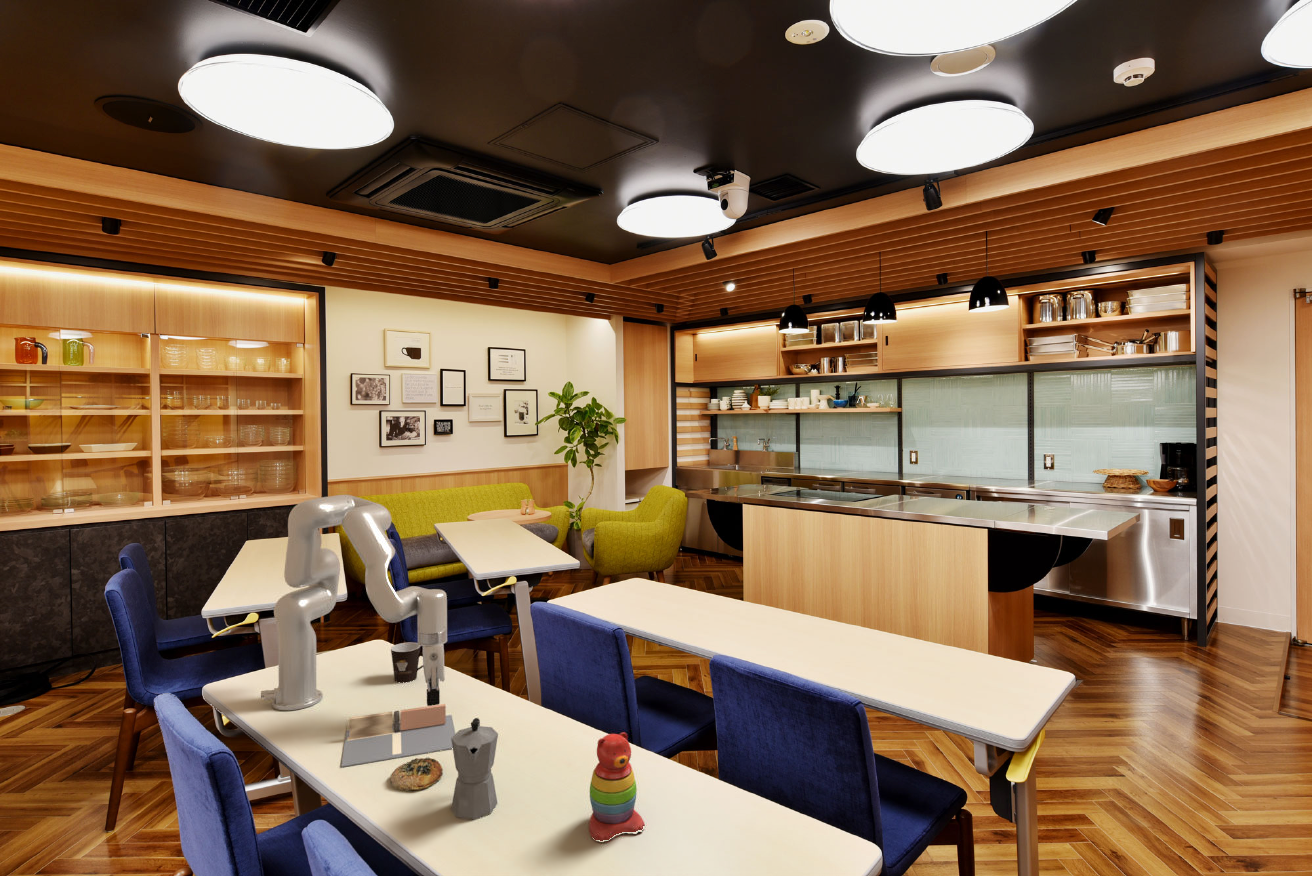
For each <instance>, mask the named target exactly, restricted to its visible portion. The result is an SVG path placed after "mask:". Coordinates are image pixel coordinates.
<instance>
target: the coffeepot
mask: <svg viewBox="0 0 1312 876" xmlns="http://www.w3.org/2000/svg"><path fill="white" fill-rule="evenodd" d="M498 735H499V733H498V732H497V731H496V730H495V729H494V728H493V727H492V726H482V725H481V720H480V718H478V717H475V718H473V719H472V721H471V722H470V727H467V728H462V729H458V731H457V732H455V735H454V736H453V737H452V738H451V741H452V747H453V749H452V752H453V759H454V765H455V766H454V767H455V770H456V771H457V777H456V780H455V784H454V789H453V791H454V792H453V795H452V802H451V810H452V812H453V815H454V816H455V817H456V818H459V819H461V820H468V819H470V820H478V819H481V818H484V817H486V816H488V815H489V813H490V814H491V813H492V812H493V811H494V810H495V809H494V808H496V806H497V805H498V797H497V793H496V787H495V781H494V776H493V773H492V767H493V766H494V763H495V757H496V752H497V751H496V750H497V742H498V737H499V736H498ZM493 809H494V810H493ZM487 814H488V815H487ZM485 815H486V816H485ZM483 816H484V817H483ZM480 817H481V818H480ZM477 818H478V819H477Z"/></svg>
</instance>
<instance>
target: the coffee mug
mask: <svg viewBox="0 0 1312 876" xmlns="http://www.w3.org/2000/svg"><path fill="white" fill-rule="evenodd" d="M390 652H391V662H392V670H393V676H394V682H395V681H397V682H396V683H398V682H400V683H399V684H405V683H406V682H407V683H411V682H414V681H415V680H416V679H417V678H418V677H417V676H418V671H420V670H421V669H422V668H423V664H422V665H420V666H419V662H420V661H419V660H420V657H421V656H422V655H423V650H422V651H421V646H420V645H418V642H403V643H402V642H401V643H398V644H394V645H393V646H391V647H390ZM413 680H414V681H413ZM410 681H411V682H410ZM403 682H404V683H403ZM407 683H406V684H407Z"/></svg>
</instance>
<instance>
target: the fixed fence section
mask: <svg viewBox="0 0 1312 876" xmlns="http://www.w3.org/2000/svg"><path fill="white" fill-rule="evenodd" d="M348 721H349V725H348V726H349V728H348V729H349V740H350V739H357V738H363V737H370V736H376V735H383V734H389V733H392V724H394V732H399V723H400V711H399V710H395V711H394V712H393V711H387V712H385V711H384V712H379V713H378V712H377V713H372V714H365V715H359V716H351V717H349V720H348Z"/></svg>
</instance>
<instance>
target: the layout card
mask: <svg viewBox="0 0 1312 876" xmlns="http://www.w3.org/2000/svg"><path fill="white" fill-rule="evenodd" d="M455 734H456V730H455V724H454V721H453V715H452V714H449V715H446V724H440V725H434V726H428V727H421V728H415V729H408V730H402V731H401V722H399V732H394V723H392V733H389V734H383V735H376V736H370V737H363V738H357V739H350V740H349V730H346V732H345V738H344V739H345V740H344V744H343V745H344V746H343V752H342V761H341V767H340V768H348V767H353V766H359V765H366V764H372V763H378V762H384V761H388V760H389V761H390V760H395V759H401V758H407V757H411V756H418V755H419V754H420V755H424V754H429V753H428V752H432V753H436V752H435V751H438V752H441V751H440V750H443V751H450V750H453V749H452V748H453V747H452V741H451V738H452V737H453V736H454V735H455Z"/></svg>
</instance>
